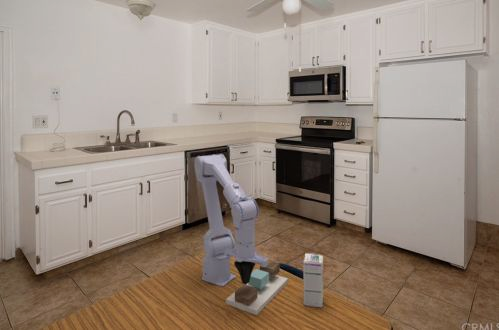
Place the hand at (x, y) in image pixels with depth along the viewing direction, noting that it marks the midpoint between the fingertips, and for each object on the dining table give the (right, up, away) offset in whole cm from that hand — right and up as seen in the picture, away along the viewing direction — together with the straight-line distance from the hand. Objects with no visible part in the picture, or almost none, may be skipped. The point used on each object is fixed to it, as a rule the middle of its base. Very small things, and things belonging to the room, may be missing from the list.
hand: (245, 282), depth 97 cm
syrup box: (+21, -7, +2) cm, 22 cm away
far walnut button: (+8, -2, +13) cm, 15 cm away
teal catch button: (+4, -3, +7) cm, 8 cm away
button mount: (+4, -6, +7) cm, 10 cm away
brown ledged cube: (0, -5, +1) cm, 6 cm away
